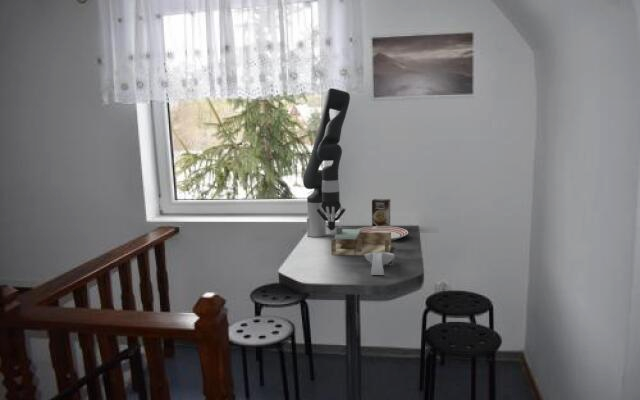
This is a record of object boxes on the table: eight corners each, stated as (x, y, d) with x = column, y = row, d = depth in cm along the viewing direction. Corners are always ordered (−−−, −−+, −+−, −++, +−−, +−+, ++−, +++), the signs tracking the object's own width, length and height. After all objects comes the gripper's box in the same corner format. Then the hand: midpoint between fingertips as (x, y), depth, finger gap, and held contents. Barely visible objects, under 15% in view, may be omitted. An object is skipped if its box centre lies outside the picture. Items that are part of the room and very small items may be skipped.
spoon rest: (365, 259, 203) (365, 242, 202) (394, 260, 201) (394, 242, 200) (361, 276, 180) (361, 257, 179) (394, 277, 178) (394, 257, 177)
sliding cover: (334, 238, 209) (334, 230, 209) (340, 231, 225) (340, 223, 224) (355, 239, 207) (355, 231, 207) (360, 231, 223) (360, 223, 222)
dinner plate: (407, 244, 228) (407, 237, 227) (348, 243, 233) (348, 236, 233) (409, 232, 254) (408, 226, 254) (355, 232, 260) (355, 225, 259)
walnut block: (341, 251, 215) (341, 237, 214) (343, 248, 220) (343, 235, 219) (353, 251, 214) (353, 238, 213) (354, 249, 219) (354, 235, 218)
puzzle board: (331, 255, 210) (331, 239, 209) (338, 247, 226) (337, 231, 225) (388, 257, 205) (388, 240, 204) (391, 247, 221) (391, 232, 220)
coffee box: (371, 230, 261) (371, 200, 259) (374, 228, 268) (373, 198, 265) (388, 231, 259) (388, 200, 257) (390, 228, 265) (390, 198, 263)
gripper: (347, 189, 217) (348, 228, 219) (317, 189, 220) (318, 228, 222) (344, 191, 210) (345, 231, 212) (313, 191, 212) (315, 231, 215)
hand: (331, 229), depth 217 cm, fingers closed
